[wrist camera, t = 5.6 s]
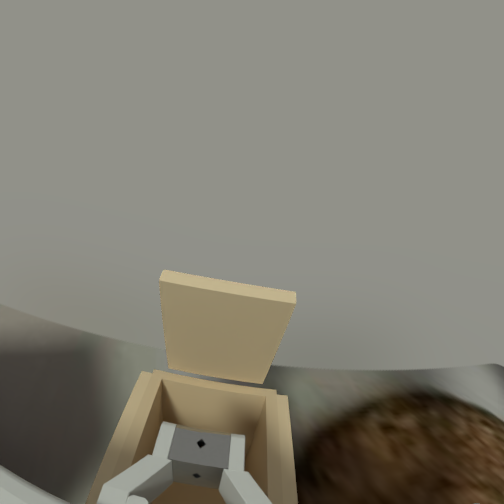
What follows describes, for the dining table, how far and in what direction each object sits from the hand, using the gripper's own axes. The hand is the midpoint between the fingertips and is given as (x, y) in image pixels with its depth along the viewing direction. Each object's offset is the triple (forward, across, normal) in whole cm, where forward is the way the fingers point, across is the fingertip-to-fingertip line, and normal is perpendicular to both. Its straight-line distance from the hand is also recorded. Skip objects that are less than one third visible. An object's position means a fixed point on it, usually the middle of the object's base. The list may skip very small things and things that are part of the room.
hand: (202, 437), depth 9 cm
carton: (+3, 0, +16) cm, 16 cm away
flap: (+10, 0, +6) cm, 12 cm away
